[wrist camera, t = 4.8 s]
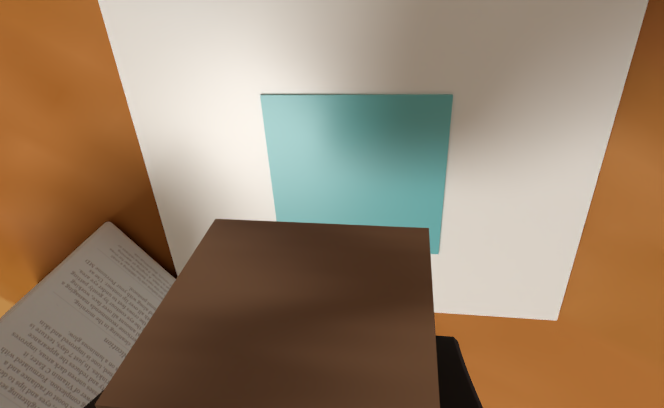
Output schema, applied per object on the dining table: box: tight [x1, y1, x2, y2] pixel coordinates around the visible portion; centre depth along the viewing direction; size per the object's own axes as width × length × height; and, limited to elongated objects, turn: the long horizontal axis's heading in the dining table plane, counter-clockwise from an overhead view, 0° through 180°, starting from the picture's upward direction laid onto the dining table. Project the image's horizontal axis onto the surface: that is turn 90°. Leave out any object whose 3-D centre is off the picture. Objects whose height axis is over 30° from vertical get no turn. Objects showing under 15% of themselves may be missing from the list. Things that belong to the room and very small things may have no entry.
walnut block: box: [95, 219, 440, 408], centre depth 10 cm, size 5×5×5 cm
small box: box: [0, 222, 176, 408], centre depth 20 cm, size 8×6×10 cm
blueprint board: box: [98, 0, 649, 320], centre depth 19 cm, size 18×14×1 cm
